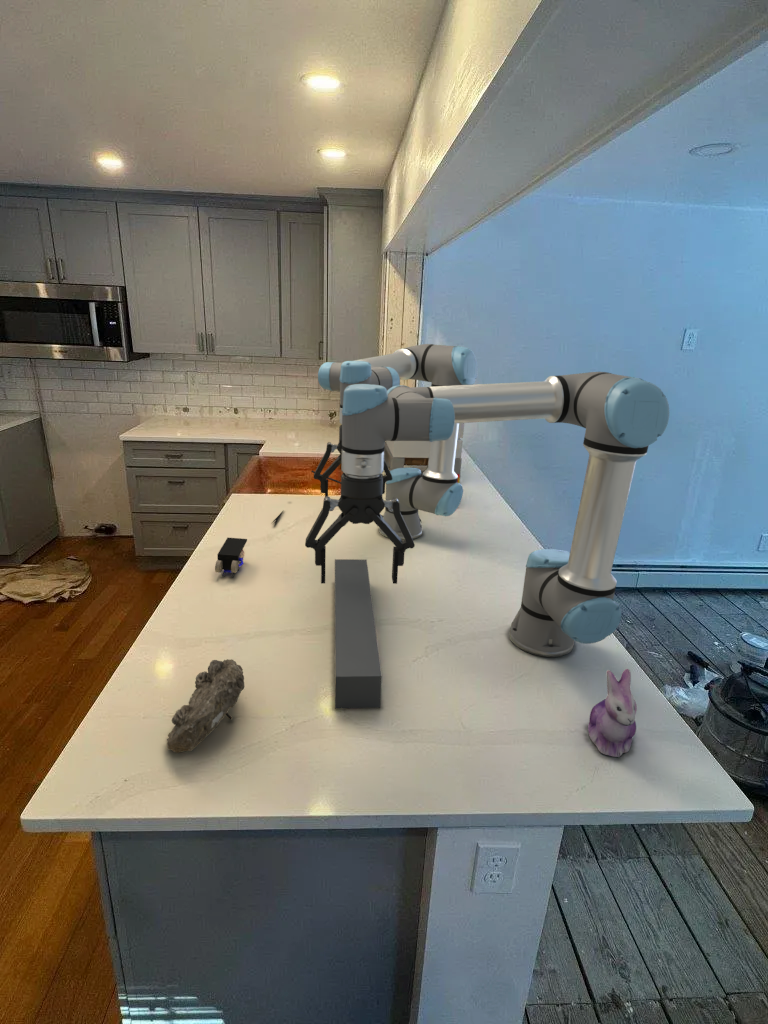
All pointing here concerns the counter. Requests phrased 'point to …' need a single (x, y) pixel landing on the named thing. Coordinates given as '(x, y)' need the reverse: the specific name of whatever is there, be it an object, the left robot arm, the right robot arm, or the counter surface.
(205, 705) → the fossil
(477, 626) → the counter surface
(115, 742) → the counter surface
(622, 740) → the figurine
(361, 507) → the right robot arm
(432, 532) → the counter surface
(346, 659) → the long dark grey beam
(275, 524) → the feather
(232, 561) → the black wheeled cart
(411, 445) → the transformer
